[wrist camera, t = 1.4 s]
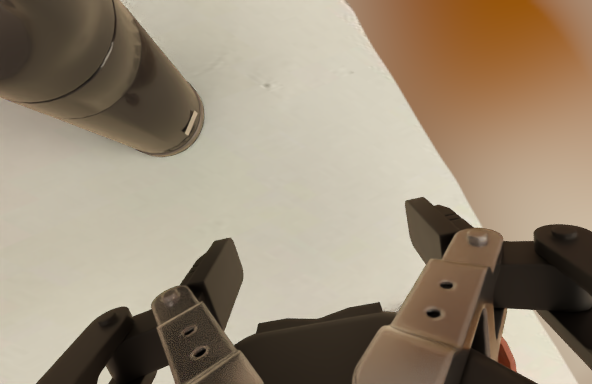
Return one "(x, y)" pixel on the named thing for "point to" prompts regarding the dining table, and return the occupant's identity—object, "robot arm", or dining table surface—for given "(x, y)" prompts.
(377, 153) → the dining table surface
